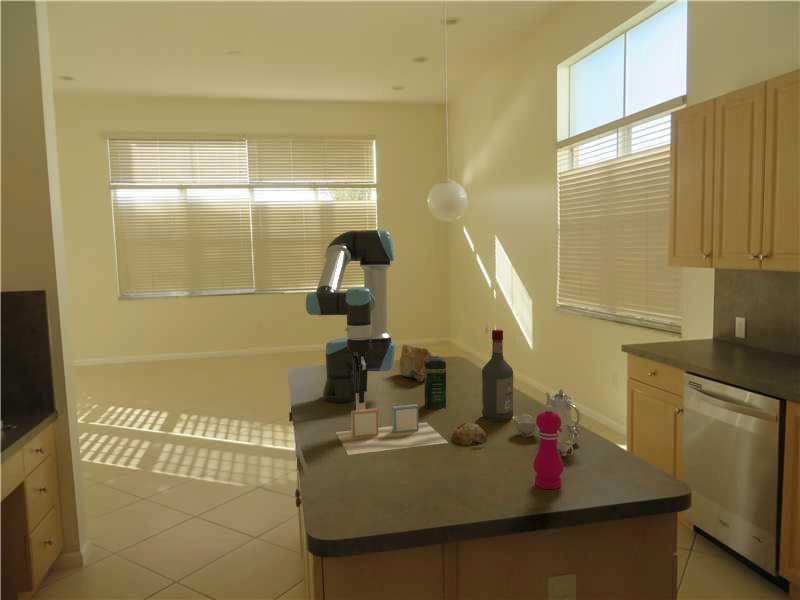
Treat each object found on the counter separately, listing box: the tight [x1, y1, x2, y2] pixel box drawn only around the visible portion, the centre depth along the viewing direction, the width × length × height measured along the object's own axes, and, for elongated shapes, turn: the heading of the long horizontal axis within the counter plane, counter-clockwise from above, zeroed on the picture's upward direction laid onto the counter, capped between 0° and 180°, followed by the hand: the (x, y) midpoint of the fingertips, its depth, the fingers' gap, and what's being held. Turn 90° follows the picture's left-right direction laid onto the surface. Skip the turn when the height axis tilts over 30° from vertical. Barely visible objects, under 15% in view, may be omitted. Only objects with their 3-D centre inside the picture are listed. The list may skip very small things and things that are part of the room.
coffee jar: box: [423, 355, 447, 410], centre depth 207 cm, size 10×8×19 cm
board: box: [335, 422, 449, 456], centre depth 174 cm, size 20×30×1 cm, turn 106°
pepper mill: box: [532, 405, 564, 490], centre depth 141 cm, size 7×7×20 cm
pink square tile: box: [350, 407, 379, 438], centre depth 175 cm, size 2×8×8 cm, turn 106°
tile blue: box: [391, 403, 419, 433], centre depth 179 cm, size 2×8×8 cm, turn 106°
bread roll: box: [451, 422, 488, 450], centre depth 171 cm, size 10×10×8 cm
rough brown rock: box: [399, 344, 434, 383], centre depth 253 cm, size 23×17×15 cm
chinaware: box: [512, 388, 582, 458], centre depth 169 cm, size 28×17×17 cm, turn 23°
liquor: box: [481, 329, 514, 422], centre depth 194 cm, size 9×9×30 cm
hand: (360, 412), depth 180 cm, fingers closed
